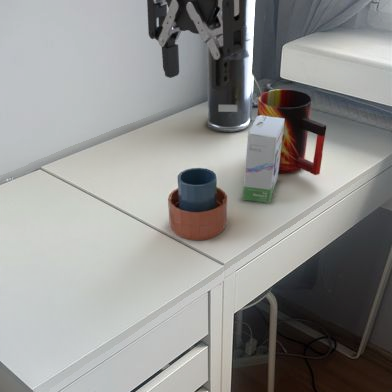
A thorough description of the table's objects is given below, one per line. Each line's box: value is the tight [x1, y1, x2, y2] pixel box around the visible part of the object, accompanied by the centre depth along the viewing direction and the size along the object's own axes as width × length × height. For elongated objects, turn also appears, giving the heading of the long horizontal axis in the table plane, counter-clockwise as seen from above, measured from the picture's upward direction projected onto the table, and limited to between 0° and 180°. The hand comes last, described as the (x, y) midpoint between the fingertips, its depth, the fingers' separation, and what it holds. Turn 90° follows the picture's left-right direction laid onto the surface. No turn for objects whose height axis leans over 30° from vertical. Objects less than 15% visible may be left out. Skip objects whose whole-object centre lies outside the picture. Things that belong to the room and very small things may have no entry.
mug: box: [257, 88, 327, 176], centre depth 95 cm, size 10×14×12 cm
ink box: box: [242, 115, 285, 204], centre depth 88 cm, size 9×5×12 cm, turn 164°
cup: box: [177, 167, 218, 212], centre depth 81 cm, size 6×6×8 cm
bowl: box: [167, 186, 228, 241], centre depth 82 cm, size 9×9×5 cm
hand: (194, 82), depth 68 cm, fingers open, 8 cm apart
